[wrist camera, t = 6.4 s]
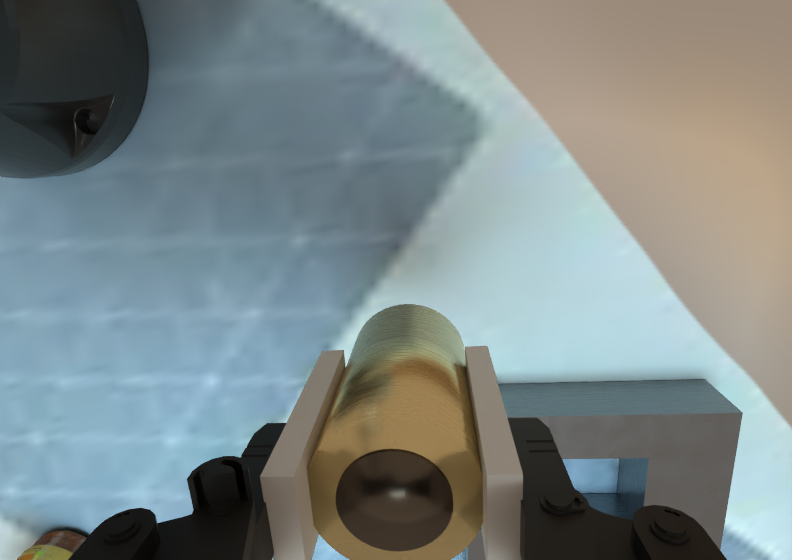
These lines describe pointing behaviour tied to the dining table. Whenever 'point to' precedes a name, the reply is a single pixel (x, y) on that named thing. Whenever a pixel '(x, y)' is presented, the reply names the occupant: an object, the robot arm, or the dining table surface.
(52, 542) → the sauce bottle
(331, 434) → the bushing
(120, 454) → the dining table surface
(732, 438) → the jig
